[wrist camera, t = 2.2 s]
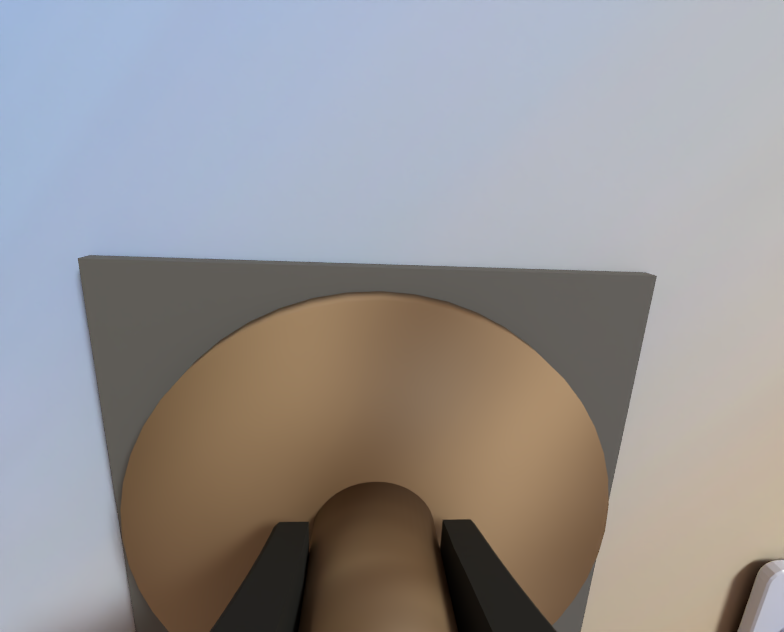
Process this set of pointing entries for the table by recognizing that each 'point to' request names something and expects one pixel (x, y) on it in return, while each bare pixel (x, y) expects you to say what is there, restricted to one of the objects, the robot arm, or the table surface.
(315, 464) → the lid
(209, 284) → the mat
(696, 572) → the table surface
